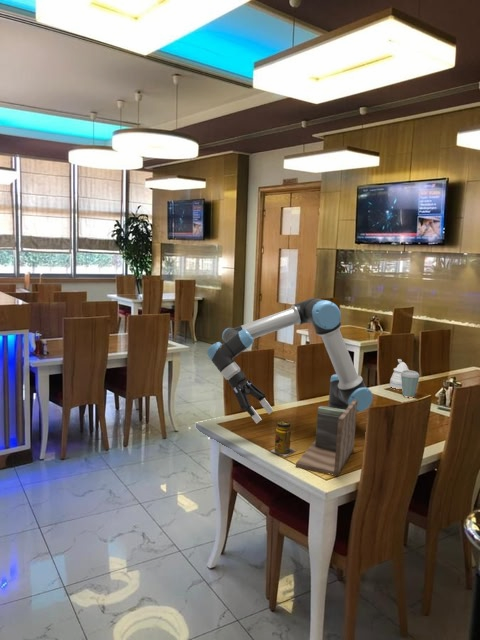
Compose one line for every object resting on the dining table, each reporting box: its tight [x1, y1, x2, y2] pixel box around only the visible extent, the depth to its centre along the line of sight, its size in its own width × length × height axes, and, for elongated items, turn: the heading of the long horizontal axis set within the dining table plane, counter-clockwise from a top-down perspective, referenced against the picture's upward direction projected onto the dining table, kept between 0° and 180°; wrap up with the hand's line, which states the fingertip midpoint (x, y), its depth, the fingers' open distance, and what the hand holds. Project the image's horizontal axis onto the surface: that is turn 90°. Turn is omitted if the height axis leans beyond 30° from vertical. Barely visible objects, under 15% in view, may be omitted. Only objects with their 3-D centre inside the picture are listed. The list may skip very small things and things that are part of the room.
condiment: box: [271, 420, 297, 457], centre depth 200 cm, size 7×8×12 cm
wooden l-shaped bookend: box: [295, 400, 358, 476], centre depth 195 cm, size 28×16×22 cm, turn 156°
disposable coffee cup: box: [401, 369, 420, 397], centre depth 291 cm, size 11×11×15 cm
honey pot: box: [389, 358, 409, 389], centre depth 310 cm, size 13×13×18 cm
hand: (265, 416), depth 202 cm, fingers open, 13 cm apart
